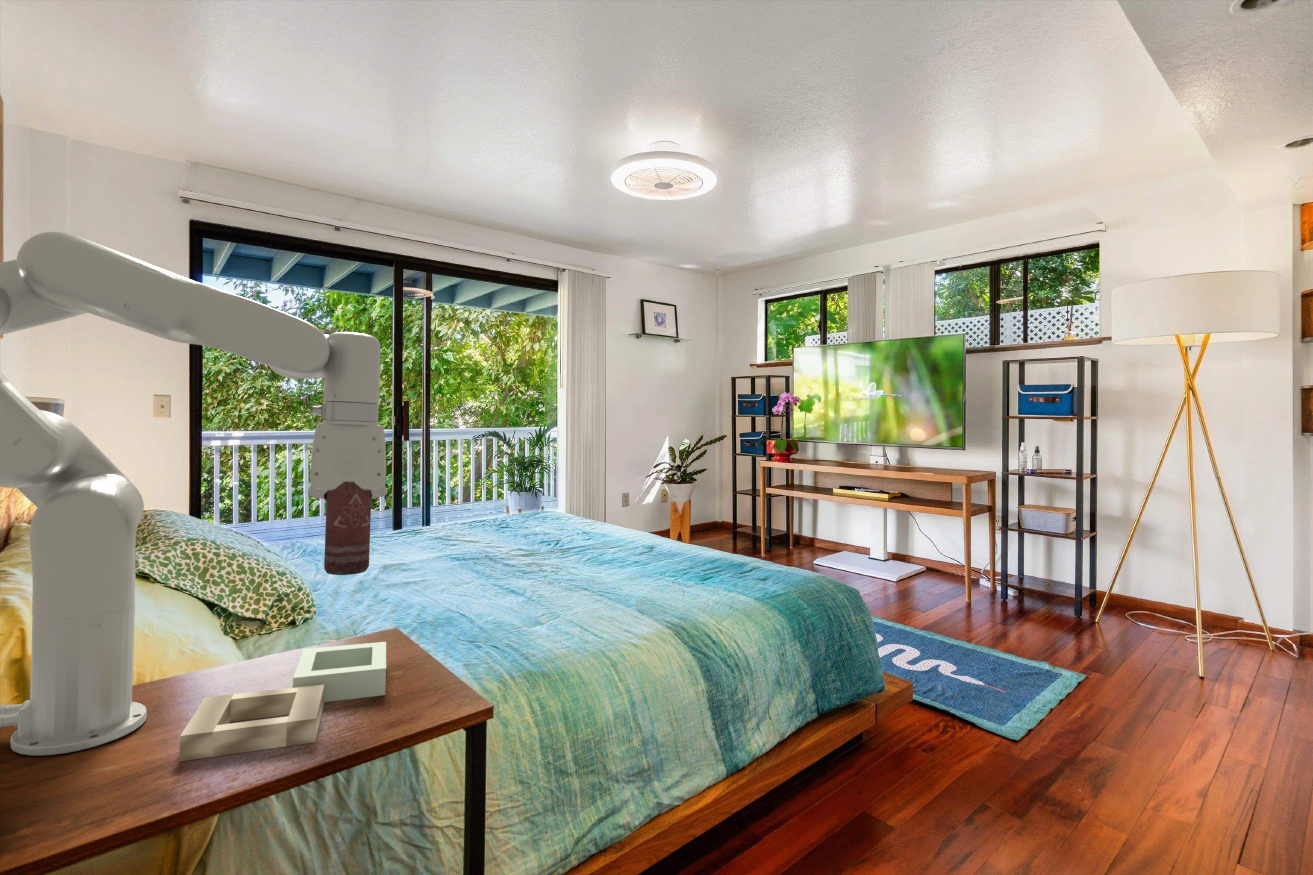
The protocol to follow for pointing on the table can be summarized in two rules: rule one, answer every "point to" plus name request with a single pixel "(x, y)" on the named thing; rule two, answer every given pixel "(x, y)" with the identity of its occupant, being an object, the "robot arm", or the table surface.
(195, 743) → the socket block
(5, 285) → the robot arm
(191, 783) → the table surface
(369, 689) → the pale green square frame
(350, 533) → the can
